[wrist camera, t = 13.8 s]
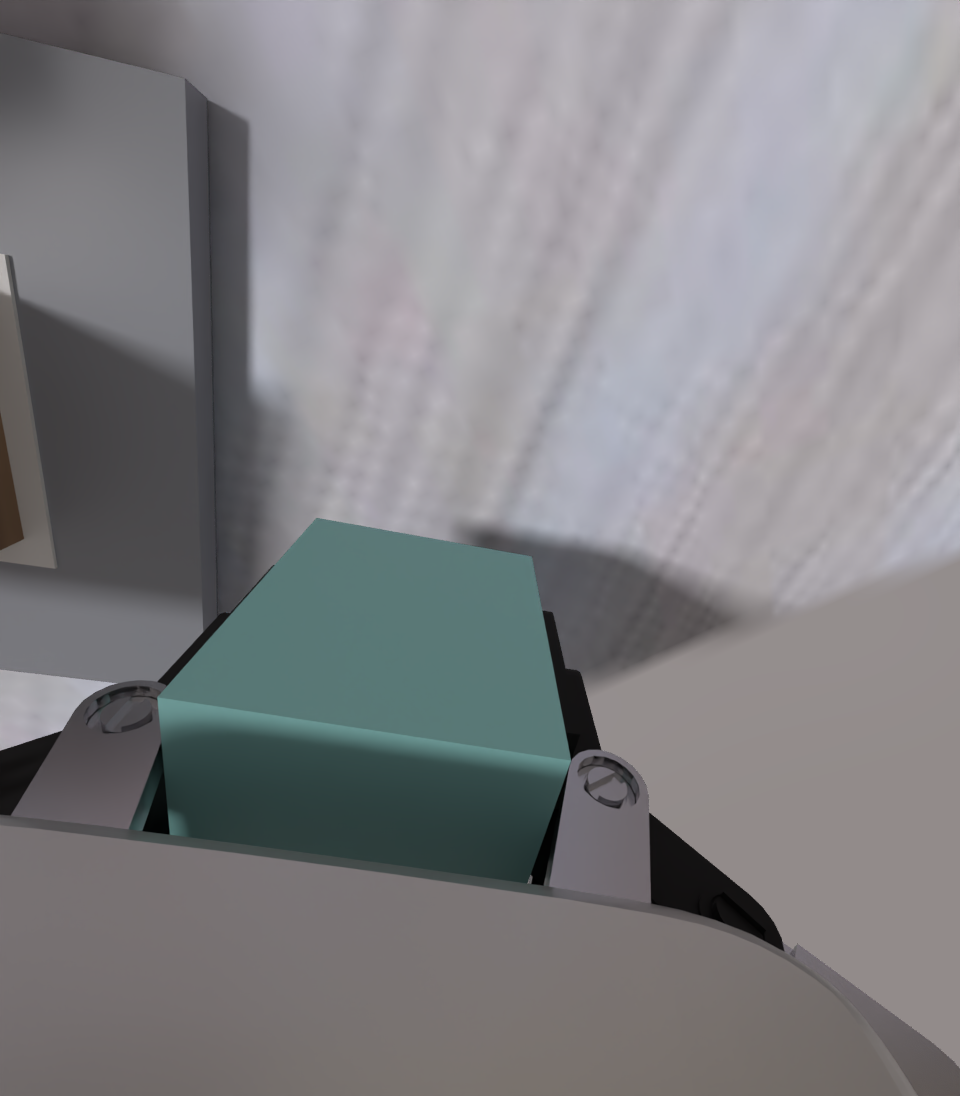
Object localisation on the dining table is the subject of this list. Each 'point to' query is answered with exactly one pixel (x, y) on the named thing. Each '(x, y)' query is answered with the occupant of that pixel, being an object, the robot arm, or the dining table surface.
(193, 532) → the plate
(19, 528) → the walnut cube
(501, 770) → the teal block
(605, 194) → the dining table surface
